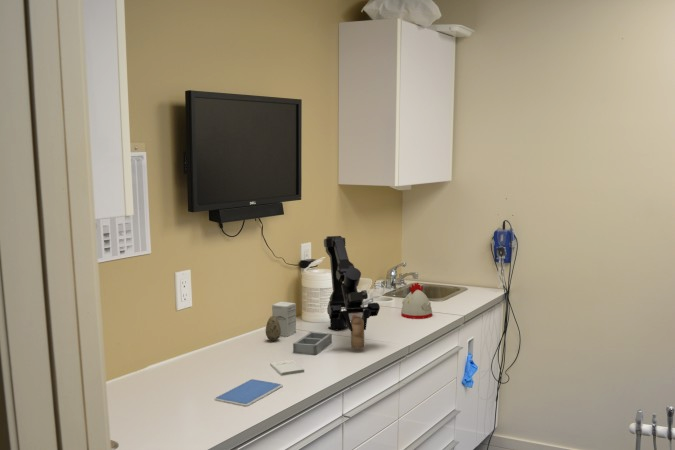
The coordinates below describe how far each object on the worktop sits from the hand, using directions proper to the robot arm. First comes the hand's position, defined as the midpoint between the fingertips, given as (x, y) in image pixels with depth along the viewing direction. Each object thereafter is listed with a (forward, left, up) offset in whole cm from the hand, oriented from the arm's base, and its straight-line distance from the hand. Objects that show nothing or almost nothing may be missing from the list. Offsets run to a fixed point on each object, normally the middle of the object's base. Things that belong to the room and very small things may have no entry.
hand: (358, 330), depth 242 cm
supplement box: (-1, -40, -8) cm, 41 cm away
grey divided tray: (+6, -17, -8) cm, 20 cm away
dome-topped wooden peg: (-1, -1, -7) cm, 7 cm away
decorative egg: (+9, -36, -8) cm, 38 cm away
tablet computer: (+54, +1, -9) cm, 55 cm away
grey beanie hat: (-60, -15, -8) cm, 62 cm away
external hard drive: (+30, -7, -9) cm, 32 cm away
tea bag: (-35, -30, -8) cm, 47 cm away
